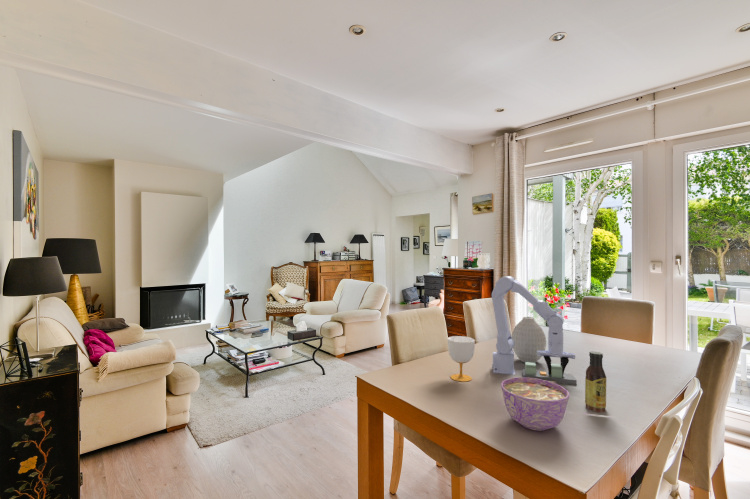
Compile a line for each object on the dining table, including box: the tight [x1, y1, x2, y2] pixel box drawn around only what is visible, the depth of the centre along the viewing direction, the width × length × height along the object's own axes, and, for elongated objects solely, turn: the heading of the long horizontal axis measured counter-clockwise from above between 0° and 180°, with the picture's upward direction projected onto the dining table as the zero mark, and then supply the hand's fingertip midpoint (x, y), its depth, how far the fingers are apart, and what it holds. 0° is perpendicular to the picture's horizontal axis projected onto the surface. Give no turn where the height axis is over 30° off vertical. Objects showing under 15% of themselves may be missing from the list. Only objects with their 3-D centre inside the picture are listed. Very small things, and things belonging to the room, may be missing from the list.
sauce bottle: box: [584, 350, 607, 413], centre depth 124 cm, size 7×6×20 cm
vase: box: [511, 316, 547, 364], centre depth 179 cm, size 16×16×22 cm
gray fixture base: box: [521, 362, 578, 386], centre depth 152 cm, size 20×8×6 cm, turn 73°
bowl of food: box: [500, 376, 570, 432], centre depth 113 cm, size 20×20×12 cm
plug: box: [550, 362, 562, 378], centre depth 151 cm, size 4×4×6 cm
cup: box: [447, 335, 476, 383], centre depth 155 cm, size 12×12×17 cm
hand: (555, 374), depth 151 cm, fingers closed on plug, 4 cm apart
